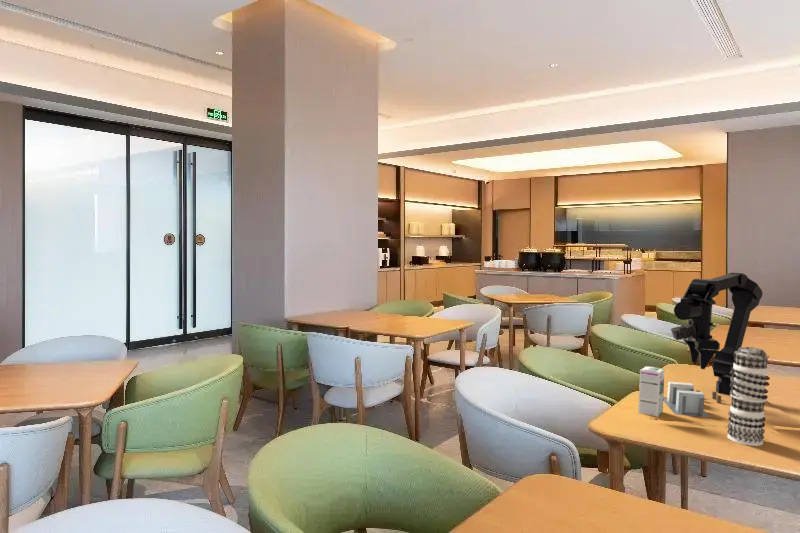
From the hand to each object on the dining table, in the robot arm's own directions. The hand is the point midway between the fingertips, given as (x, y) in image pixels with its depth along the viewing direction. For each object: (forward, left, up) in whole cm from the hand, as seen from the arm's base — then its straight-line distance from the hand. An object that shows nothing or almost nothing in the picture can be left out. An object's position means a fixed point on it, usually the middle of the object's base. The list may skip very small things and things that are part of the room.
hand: (698, 365), depth 185 cm
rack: (+6, +9, -12) cm, 17 cm away
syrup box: (+18, +18, -13) cm, 28 cm away
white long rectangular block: (+6, +14, -11) cm, 19 cm away
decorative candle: (-3, +32, -13) cm, 35 cm away
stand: (-4, -1, -12) cm, 13 cm away
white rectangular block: (+6, +4, -11) cm, 13 cm away
